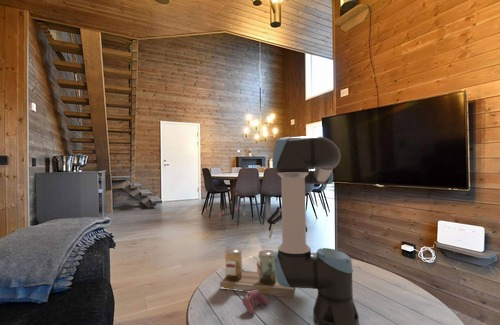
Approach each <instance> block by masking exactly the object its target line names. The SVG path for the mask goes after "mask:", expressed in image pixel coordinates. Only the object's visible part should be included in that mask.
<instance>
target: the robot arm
mask: <svg viewBox="0 0 500 325" xmlns="http://www.w3.org/2000/svg"><path fill="white" fill-rule="evenodd" d="M341 154H342V153H341V151H340V148H339V147H338V145H336V143H334V142H333V141H332V140H330V139H329V138H326V137H323V136H320V135H319V136H318V135H313V136H287V137H280V138H277V139H276V141H275V144H274V148H273V154H272V155H273V156H272V168H273V169H275V170H276V174H277V175H278V177H280V179H281V180H280V182H281V208H280V207H279V206H277V207H276V209H275V211H274V212H273V213H272V214H271V216H269V218H268V219H267V221H266V222H267V224H268V225H269V226H268V231H269V234H268V238H269V239H272V234H273V232H274V227H275V224H276V223H278V222H280V221H281V235H282V236H281V240H282V242H281V244H280V245H279V246H278V247H277V248H278V250H277V251H274V252H275V254H274V261H275V263H274V264H275V273H276V278H277V281H278V283H279V284H280V285H281V286H285V287H290V288H292V287H294V288H295V289H296V288H297V289H308V290H309V289H310V290H311V289H312V290H317V295H316V299H315V303H314V306H313V309H312V310H313V311H312V312H313V314H312V315H313V319H314V321H315V323H316V324H317V325H360V321H359V320H360V318H359V313H358V310H357V307H356V303H355V301H354V297H353V296H354V295H353V273H354V270H353V265H352V264H353V261H352V259H351V257H350V256H349V255H348V254H346V253H345V252H342V251H341V250H337V249H335V248H328V247H327V248H326V247H324V248H319V249H317V251H316V253H312V252H311V251H312V249H311V247H310V246H309V245H308V244H307V232H308V228H307V224H306V223H307V222H306V217H307V216H306V187H305V186H306V185H332V184H333V183H334V172H333V170H334V169H336V168H337V166H338V165H339V163H340V161H341V159H342V158H341V156H342V155H341ZM280 213H281V214H280ZM279 214H280V215H279Z"/></svg>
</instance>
